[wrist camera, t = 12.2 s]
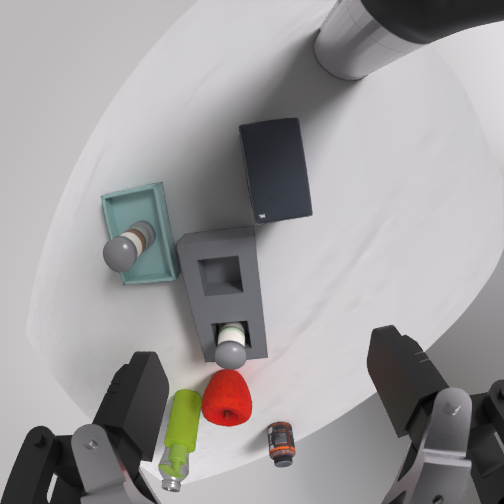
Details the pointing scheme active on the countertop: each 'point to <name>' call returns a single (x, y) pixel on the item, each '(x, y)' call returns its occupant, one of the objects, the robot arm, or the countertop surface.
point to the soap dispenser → (182, 430)
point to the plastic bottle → (170, 482)
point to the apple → (227, 399)
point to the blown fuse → (129, 246)
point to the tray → (155, 212)
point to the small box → (276, 170)
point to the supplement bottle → (281, 444)
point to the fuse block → (225, 294)
